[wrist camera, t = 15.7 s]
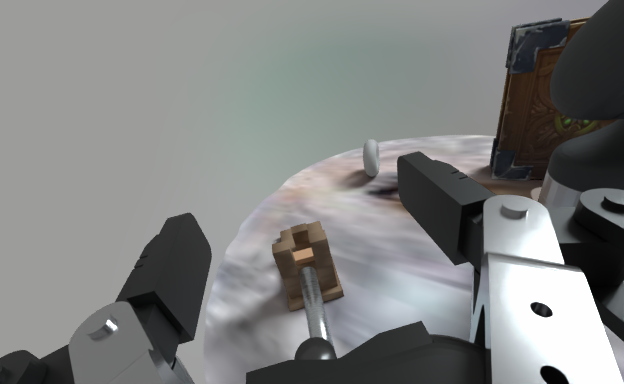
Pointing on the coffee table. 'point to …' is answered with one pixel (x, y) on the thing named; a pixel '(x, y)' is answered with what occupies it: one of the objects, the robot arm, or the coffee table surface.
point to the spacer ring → (303, 256)
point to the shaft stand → (323, 263)
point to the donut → (371, 157)
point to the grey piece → (314, 321)
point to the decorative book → (534, 102)
